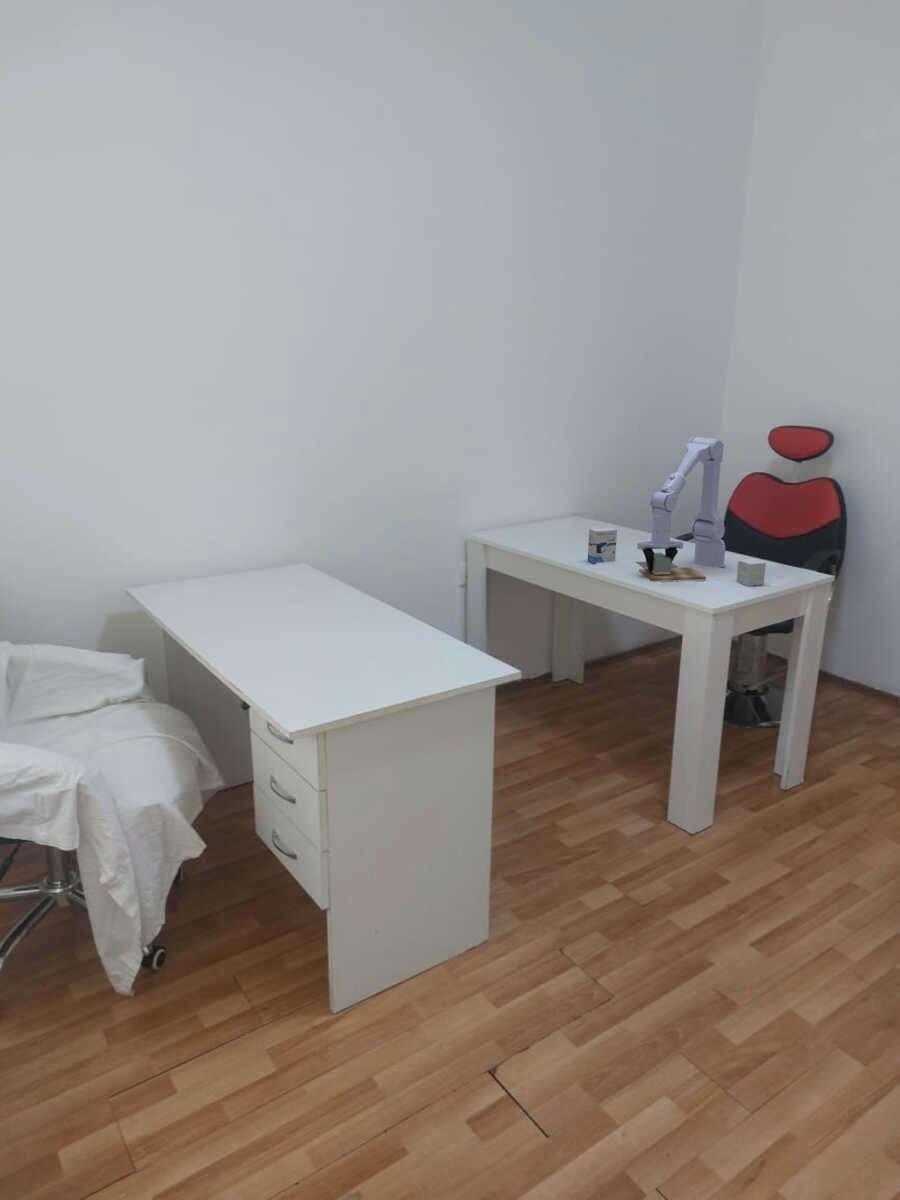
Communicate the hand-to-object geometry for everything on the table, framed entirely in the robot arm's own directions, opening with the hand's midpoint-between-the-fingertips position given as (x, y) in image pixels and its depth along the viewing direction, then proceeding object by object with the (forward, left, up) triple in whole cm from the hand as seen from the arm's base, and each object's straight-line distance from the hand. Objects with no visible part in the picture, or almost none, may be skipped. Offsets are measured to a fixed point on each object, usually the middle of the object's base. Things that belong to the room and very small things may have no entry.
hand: (658, 570), depth 284 cm
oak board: (-5, 0, -2) cm, 5 cm away
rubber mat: (-5, -13, -2) cm, 14 cm away
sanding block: (0, -1, 0) cm, 1 cm away
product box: (-27, +10, -3) cm, 29 cm away
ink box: (+12, -22, -3) cm, 25 cm away
